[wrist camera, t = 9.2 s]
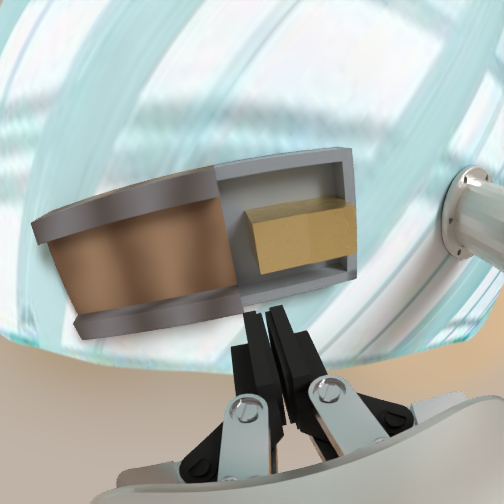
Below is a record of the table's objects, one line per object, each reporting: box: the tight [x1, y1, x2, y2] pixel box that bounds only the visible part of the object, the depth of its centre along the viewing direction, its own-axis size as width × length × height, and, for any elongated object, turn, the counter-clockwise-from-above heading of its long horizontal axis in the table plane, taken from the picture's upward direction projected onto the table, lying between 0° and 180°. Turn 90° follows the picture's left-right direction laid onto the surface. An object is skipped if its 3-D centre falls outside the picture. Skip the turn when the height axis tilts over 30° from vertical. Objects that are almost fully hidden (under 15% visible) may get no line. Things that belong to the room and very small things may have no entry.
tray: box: [214, 147, 357, 306], centre depth 23 cm, size 11×12×2 cm
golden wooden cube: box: [245, 202, 311, 274], centre depth 22 cm, size 4×4×4 cm
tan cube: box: [293, 195, 357, 264], centre depth 22 cm, size 4×4×4 cm
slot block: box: [31, 165, 244, 340], centre depth 22 cm, size 16×12×4 cm
